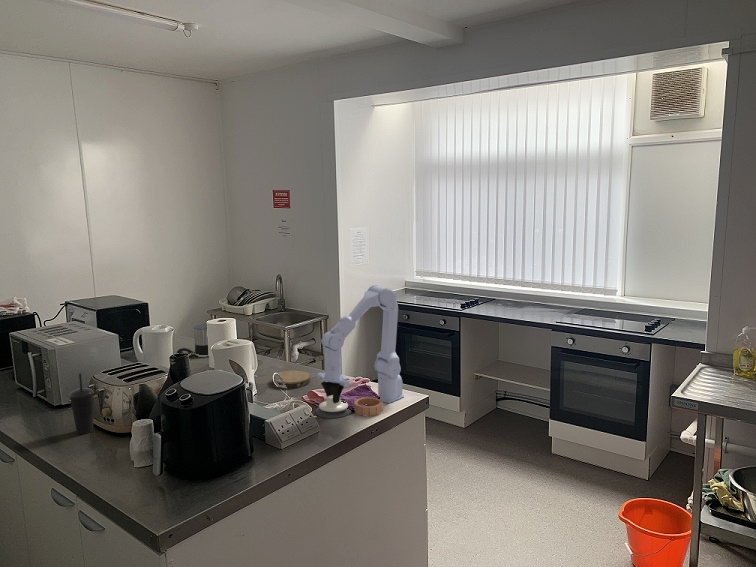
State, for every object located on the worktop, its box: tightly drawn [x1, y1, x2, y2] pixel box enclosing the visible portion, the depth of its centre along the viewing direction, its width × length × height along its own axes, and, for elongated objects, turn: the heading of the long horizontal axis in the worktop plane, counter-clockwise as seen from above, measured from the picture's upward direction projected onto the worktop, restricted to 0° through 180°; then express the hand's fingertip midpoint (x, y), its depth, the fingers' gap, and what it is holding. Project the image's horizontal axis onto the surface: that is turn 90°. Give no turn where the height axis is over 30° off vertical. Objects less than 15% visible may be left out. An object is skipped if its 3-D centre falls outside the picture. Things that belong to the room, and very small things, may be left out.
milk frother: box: [176, 323, 208, 355], centre depth 281 cm, size 14×16×15 cm
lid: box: [318, 395, 349, 412], centre depth 209 cm, size 10×10×4 cm
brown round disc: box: [271, 369, 311, 390], centre depth 242 cm, size 16×16×3 cm
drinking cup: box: [68, 373, 95, 435], centre depth 192 cm, size 8×8×20 cm
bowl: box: [353, 396, 384, 417], centre depth 210 cm, size 10×10×3 cm
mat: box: [315, 407, 352, 419], centre depth 210 cm, size 13×13×1 cm
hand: (333, 401), depth 209 cm, fingers closed on lid, 2 cm apart
